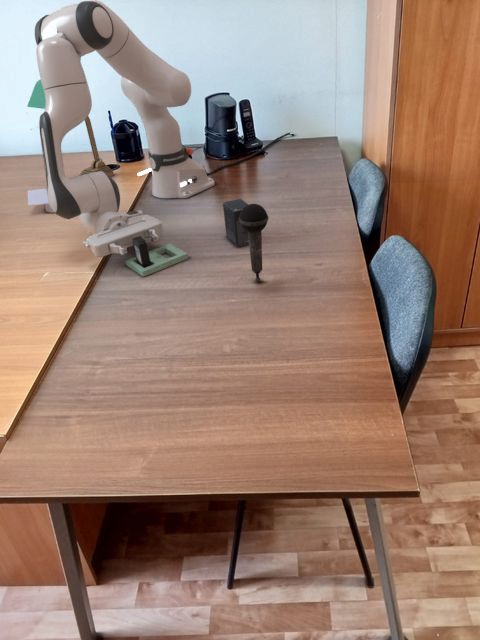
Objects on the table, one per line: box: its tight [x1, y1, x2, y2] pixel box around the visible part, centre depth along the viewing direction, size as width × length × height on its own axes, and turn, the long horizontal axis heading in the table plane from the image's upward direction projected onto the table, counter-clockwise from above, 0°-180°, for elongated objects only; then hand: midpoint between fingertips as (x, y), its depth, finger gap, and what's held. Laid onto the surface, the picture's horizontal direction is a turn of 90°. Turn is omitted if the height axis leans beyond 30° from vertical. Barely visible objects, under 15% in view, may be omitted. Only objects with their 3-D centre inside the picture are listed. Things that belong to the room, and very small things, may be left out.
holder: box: [125, 243, 189, 277], centre depth 143 cm, size 14×9×2 cm, turn 130°
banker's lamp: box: [26, 78, 115, 178], centre depth 187 cm, size 16×21×35 cm
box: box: [222, 198, 249, 248], centre depth 148 cm, size 8×6×11 cm
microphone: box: [239, 203, 269, 283], centre depth 126 cm, size 7×7×20 cm
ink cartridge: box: [132, 236, 151, 268], centre depth 139 cm, size 5×2×8 cm, turn 31°
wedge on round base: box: [27, 188, 55, 214], centre depth 177 cm, size 9×7×13 cm
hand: (140, 245), depth 137 cm, fingers open, 8 cm apart
